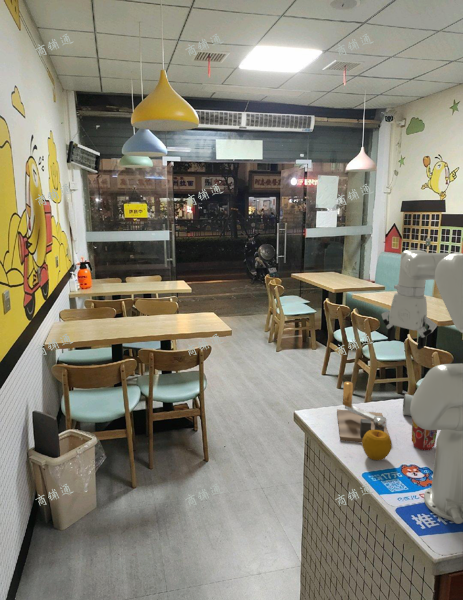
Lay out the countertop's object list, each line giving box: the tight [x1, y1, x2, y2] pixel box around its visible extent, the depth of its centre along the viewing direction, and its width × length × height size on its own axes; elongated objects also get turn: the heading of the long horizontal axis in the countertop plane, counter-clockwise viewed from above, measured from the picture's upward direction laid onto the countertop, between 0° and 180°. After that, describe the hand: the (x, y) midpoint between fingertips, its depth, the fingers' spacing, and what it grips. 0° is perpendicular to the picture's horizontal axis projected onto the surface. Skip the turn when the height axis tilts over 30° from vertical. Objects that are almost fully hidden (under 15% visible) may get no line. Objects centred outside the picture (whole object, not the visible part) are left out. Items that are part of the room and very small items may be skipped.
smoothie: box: [411, 418, 438, 451], centre depth 136 cm, size 8×8×20 cm
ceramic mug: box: [402, 393, 414, 417], centre depth 160 cm, size 11×8×8 cm
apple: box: [361, 430, 392, 461], centre depth 131 cm, size 9×8×9 cm
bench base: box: [336, 409, 391, 444], centre depth 149 cm, size 20×16×7 cm
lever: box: [342, 381, 387, 427], centre depth 148 cm, size 18×4×10 cm, turn 34°
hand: (405, 344), depth 134 cm, fingers open, 9 cm apart
